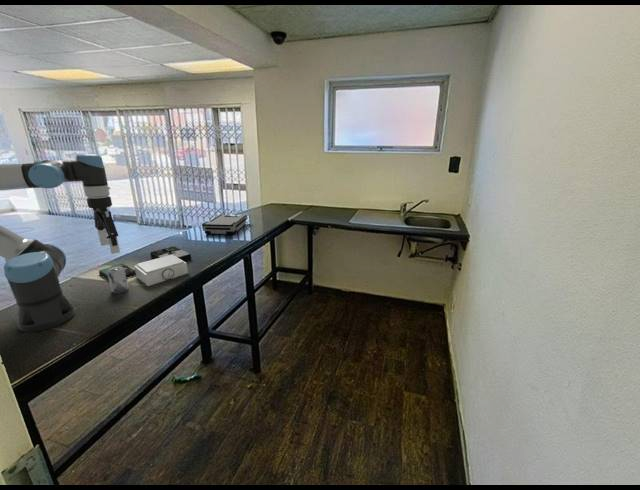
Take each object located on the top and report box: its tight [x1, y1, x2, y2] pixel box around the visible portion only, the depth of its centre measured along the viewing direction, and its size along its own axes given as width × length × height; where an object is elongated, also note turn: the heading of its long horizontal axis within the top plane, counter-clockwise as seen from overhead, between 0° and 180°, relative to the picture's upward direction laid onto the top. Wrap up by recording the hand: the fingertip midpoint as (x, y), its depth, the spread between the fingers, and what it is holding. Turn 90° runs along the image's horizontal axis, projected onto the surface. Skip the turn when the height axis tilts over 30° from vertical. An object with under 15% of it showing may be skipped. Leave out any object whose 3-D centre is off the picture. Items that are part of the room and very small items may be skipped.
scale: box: [133, 255, 189, 287], centre depth 137 cm, size 18×15×6 cm
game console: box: [201, 213, 248, 236], centre depth 209 cm, size 21×32×8 cm, turn 177°
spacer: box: [107, 267, 129, 294], centre depth 123 cm, size 6×6×10 cm
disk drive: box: [98, 263, 136, 280], centre depth 138 cm, size 10×3×15 cm
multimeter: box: [150, 246, 192, 262], centre depth 157 cm, size 13×19×5 cm
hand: (110, 248), depth 119 cm, fingers open, 13 cm apart
